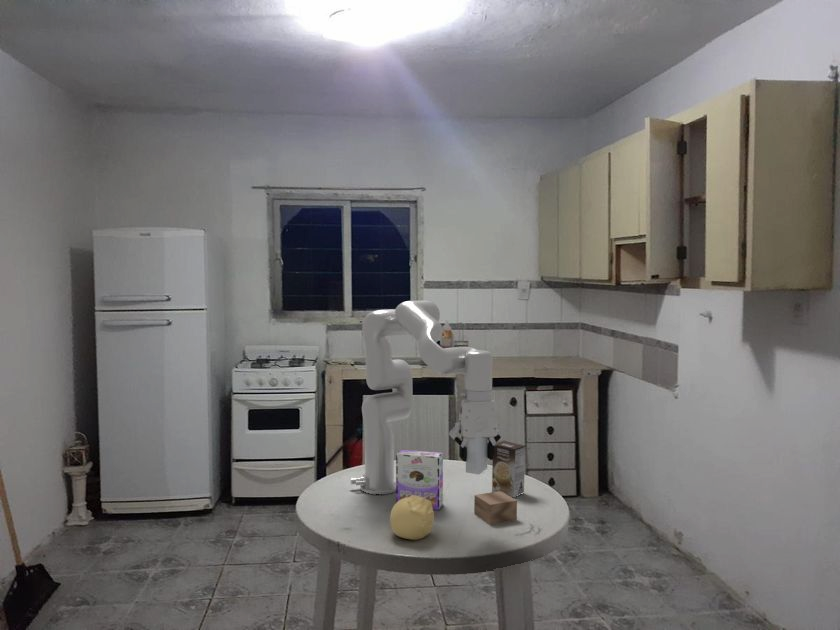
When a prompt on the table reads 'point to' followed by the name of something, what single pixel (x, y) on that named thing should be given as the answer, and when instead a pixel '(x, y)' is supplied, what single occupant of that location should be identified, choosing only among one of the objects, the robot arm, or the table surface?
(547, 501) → the table surface
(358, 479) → the robot arm
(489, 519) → the brown cardboard box
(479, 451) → the skincare box
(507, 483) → the coffee box
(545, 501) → the table surface
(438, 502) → the candy box
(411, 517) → the pale yellow round lump
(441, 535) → the table surface
